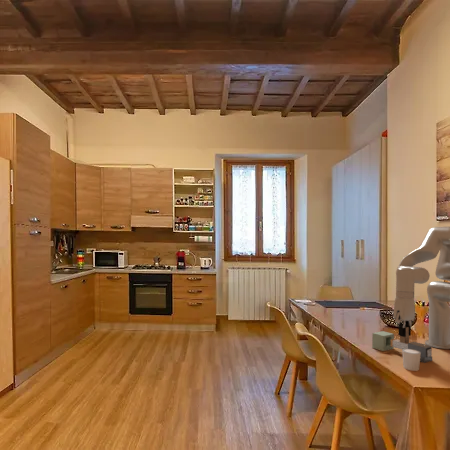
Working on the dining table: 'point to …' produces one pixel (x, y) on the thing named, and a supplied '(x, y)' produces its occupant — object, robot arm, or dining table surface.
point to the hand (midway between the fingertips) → (404, 335)
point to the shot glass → (411, 359)
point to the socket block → (382, 340)
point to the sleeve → (421, 350)
